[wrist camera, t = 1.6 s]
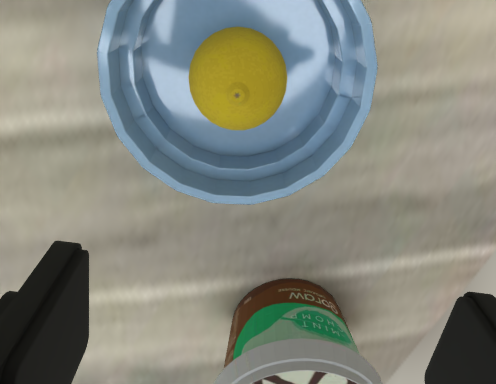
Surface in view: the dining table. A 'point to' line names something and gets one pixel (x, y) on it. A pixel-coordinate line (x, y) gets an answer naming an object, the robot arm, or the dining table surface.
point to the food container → (292, 339)
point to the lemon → (237, 78)
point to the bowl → (237, 141)
